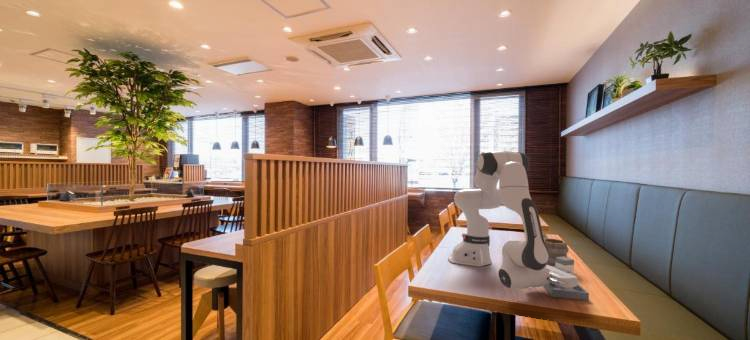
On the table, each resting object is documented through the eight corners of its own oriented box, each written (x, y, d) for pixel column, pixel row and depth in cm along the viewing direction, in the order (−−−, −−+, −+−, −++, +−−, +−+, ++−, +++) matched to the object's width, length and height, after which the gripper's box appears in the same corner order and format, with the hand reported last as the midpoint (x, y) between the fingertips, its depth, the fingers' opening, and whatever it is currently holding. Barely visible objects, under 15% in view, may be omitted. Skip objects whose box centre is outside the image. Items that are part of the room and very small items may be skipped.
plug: (564, 290, 121) (564, 260, 121) (555, 286, 126) (555, 257, 125) (573, 289, 122) (574, 259, 122) (563, 285, 127) (564, 256, 127)
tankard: (573, 274, 145) (573, 242, 145) (544, 272, 148) (544, 241, 147) (557, 260, 165) (557, 233, 164) (531, 259, 167) (532, 232, 167)
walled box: (552, 297, 119) (552, 290, 119) (542, 285, 132) (542, 278, 132) (588, 300, 117) (588, 293, 117) (574, 287, 129) (574, 280, 129)
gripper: (560, 276, 111) (590, 272, 114) (520, 258, 130) (546, 256, 134) (559, 293, 111) (589, 289, 114) (519, 273, 130) (546, 270, 134)
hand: (566, 271), depth 124 cm, fingers closed on plug, 4 cm apart
